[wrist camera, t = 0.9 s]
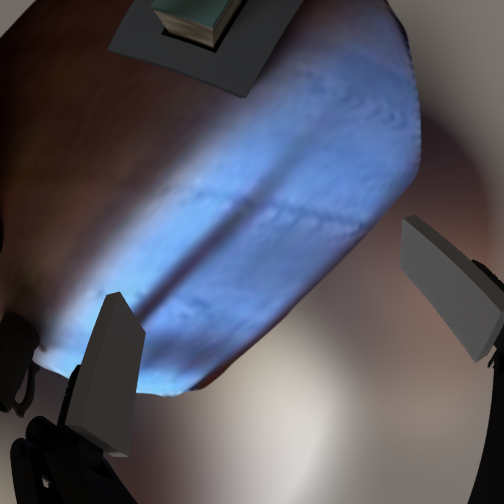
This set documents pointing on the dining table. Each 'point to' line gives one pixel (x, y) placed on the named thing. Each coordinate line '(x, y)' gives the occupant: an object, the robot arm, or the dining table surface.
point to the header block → (201, 60)
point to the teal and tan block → (197, 20)
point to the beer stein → (16, 362)
